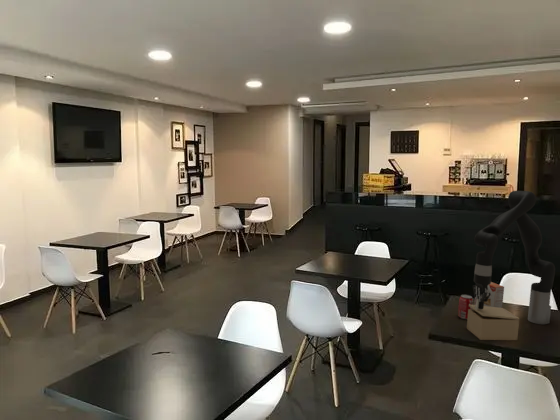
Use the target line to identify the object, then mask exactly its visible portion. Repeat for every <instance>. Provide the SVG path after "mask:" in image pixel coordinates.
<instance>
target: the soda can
mask: <svg viewBox="0 0 560 420" xmlns="http://www.w3.org/2000/svg"><path fill="white" fill-rule="evenodd" d="M469 304H470V305H474V299H473V296H472V295H469V294H461V295H460V297H459V301H458V306H457V307H458V308H457V309H458V310H457V315H458V317H459V318H460V319H461V320H467V319H468V309H472V308H471V307H470V306H469Z"/></svg>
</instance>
